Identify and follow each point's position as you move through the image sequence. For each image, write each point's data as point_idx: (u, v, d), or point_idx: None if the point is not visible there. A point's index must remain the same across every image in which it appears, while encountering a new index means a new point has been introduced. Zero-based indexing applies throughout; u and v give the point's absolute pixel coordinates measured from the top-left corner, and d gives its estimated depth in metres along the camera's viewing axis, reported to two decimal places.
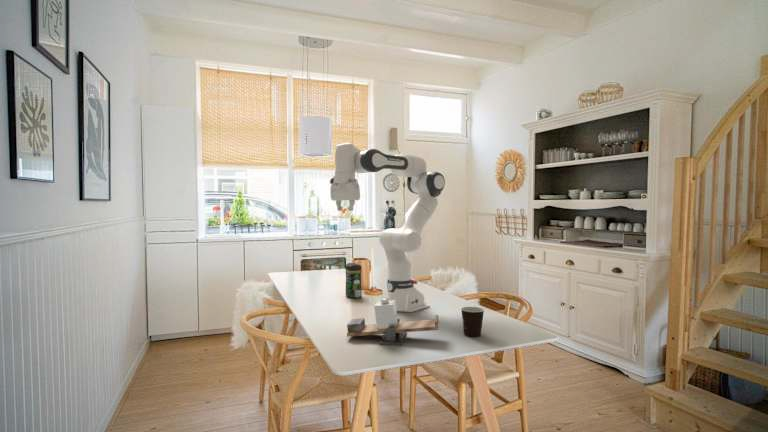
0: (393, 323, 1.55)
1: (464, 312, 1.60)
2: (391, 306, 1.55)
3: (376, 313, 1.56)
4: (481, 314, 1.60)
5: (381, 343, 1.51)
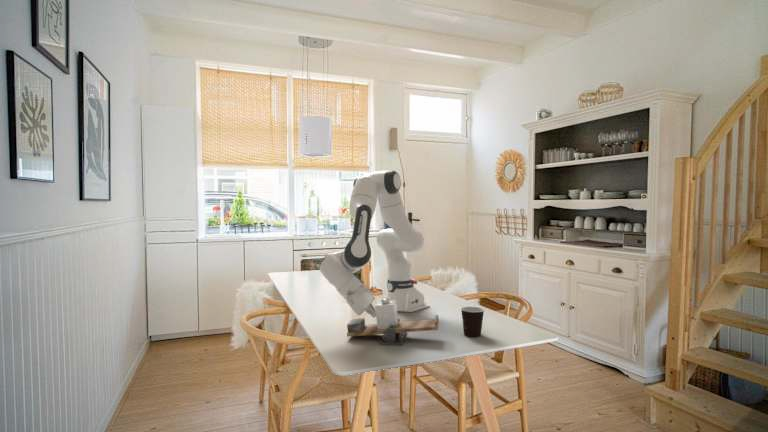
0: (393, 323, 1.55)
1: (464, 312, 1.60)
2: (392, 306, 1.55)
3: (377, 313, 1.56)
4: (481, 314, 1.60)
5: (381, 343, 1.51)
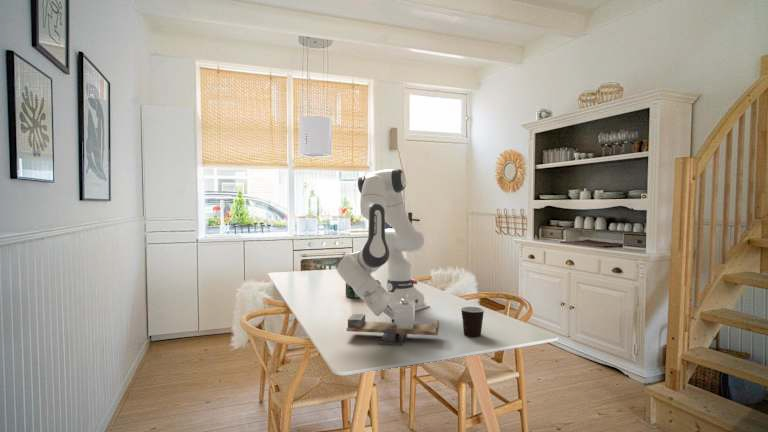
0: (411, 324, 1.54)
1: (464, 312, 1.60)
2: (411, 307, 1.54)
3: (395, 312, 1.55)
4: (481, 314, 1.60)
5: (381, 343, 1.51)
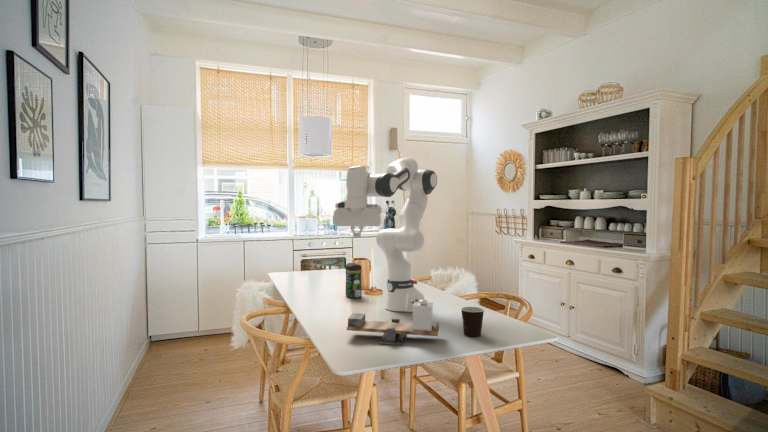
0: (429, 326, 1.53)
1: (464, 312, 1.60)
2: (430, 308, 1.52)
3: (413, 313, 1.54)
4: (481, 314, 1.60)
5: (381, 343, 1.51)
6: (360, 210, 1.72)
